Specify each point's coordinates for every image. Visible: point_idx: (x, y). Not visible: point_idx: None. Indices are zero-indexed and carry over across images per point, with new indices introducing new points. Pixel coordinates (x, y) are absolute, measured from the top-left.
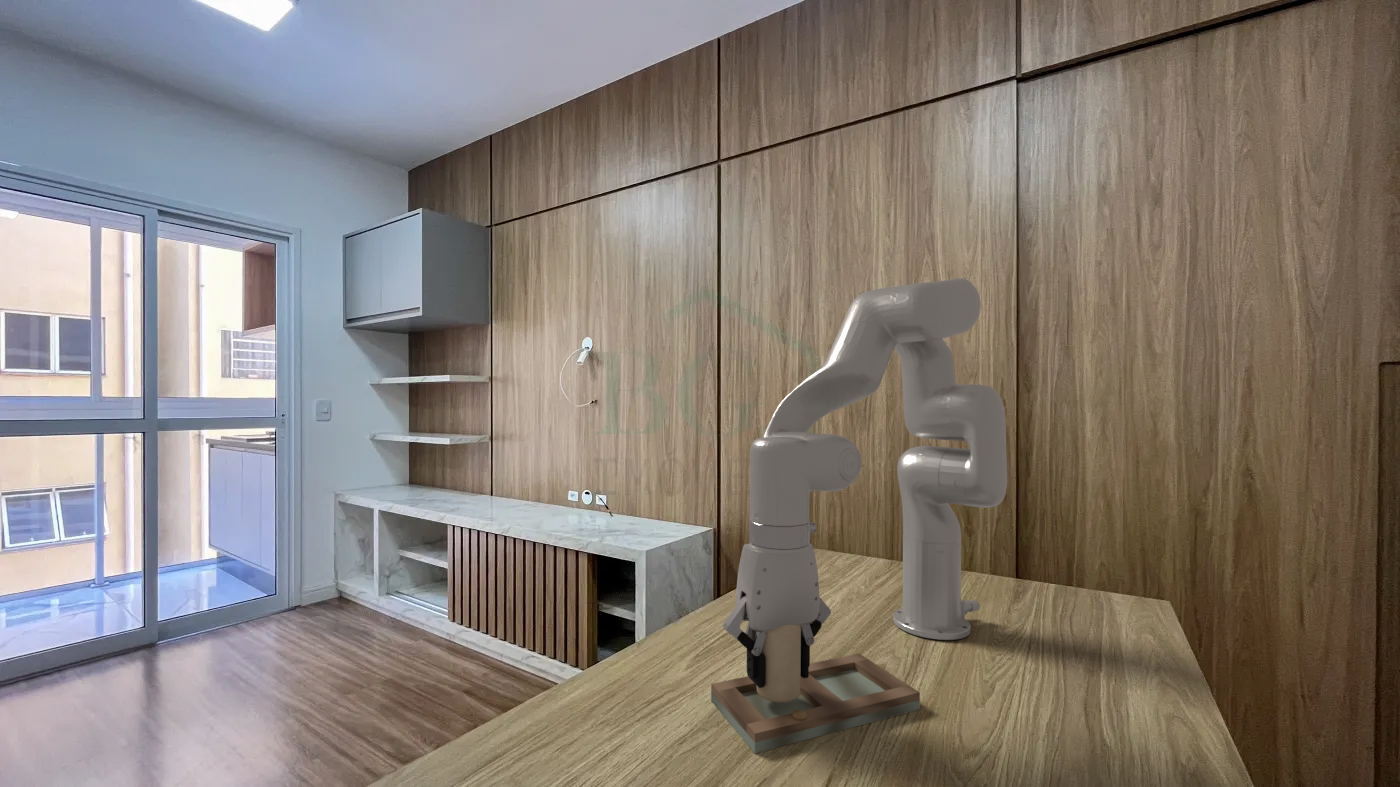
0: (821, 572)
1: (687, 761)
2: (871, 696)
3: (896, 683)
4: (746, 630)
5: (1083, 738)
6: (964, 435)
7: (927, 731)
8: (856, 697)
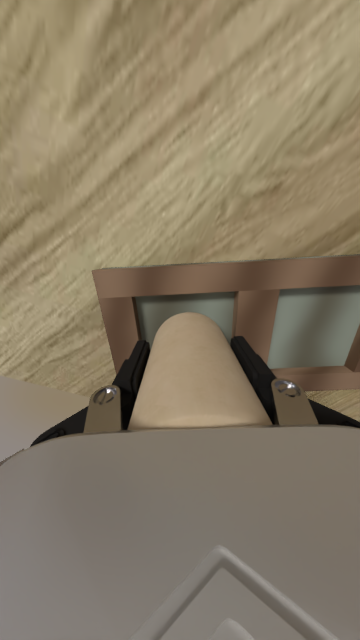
0: None
1: (56, 373)
2: (308, 378)
3: None
4: (84, 432)
5: None
6: None
7: (316, 401)
8: (298, 353)
